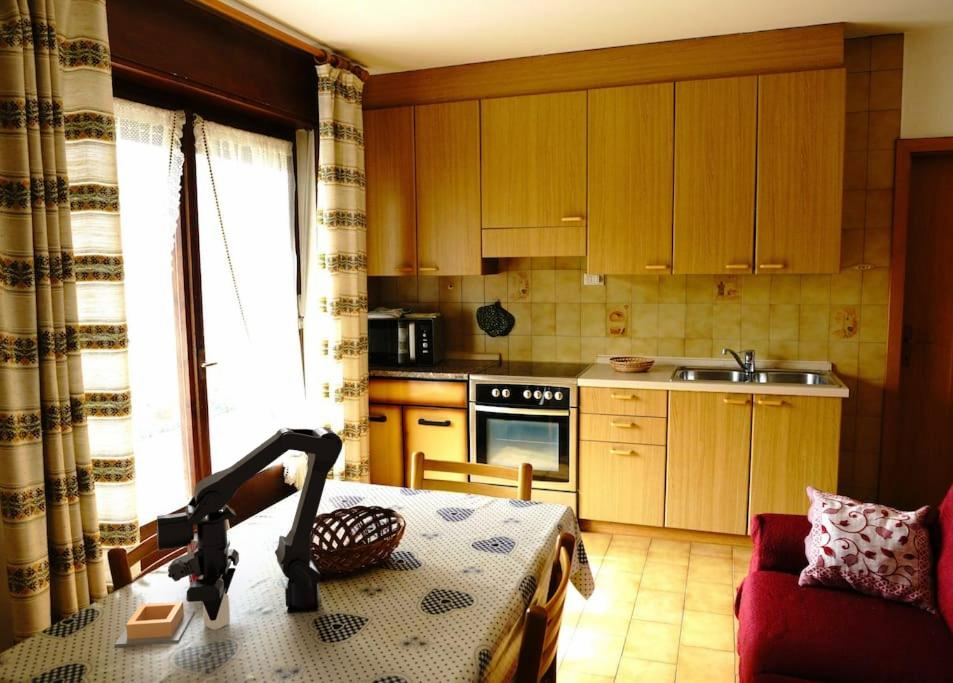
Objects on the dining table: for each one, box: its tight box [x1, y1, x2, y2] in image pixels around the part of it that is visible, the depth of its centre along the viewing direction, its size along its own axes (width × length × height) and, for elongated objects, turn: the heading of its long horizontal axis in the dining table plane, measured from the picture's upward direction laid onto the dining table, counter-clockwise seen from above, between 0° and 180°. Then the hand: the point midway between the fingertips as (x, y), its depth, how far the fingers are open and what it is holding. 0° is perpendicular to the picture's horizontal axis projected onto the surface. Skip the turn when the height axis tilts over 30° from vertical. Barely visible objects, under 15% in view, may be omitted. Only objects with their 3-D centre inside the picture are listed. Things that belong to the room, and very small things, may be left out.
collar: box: [114, 601, 196, 648], centre depth 146 cm, size 12×12×4 cm
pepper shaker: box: [202, 579, 231, 631], centre depth 147 cm, size 4×4×10 cm
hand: (216, 613), depth 148 cm, fingers closed on pepper shaker, 5 cm apart
